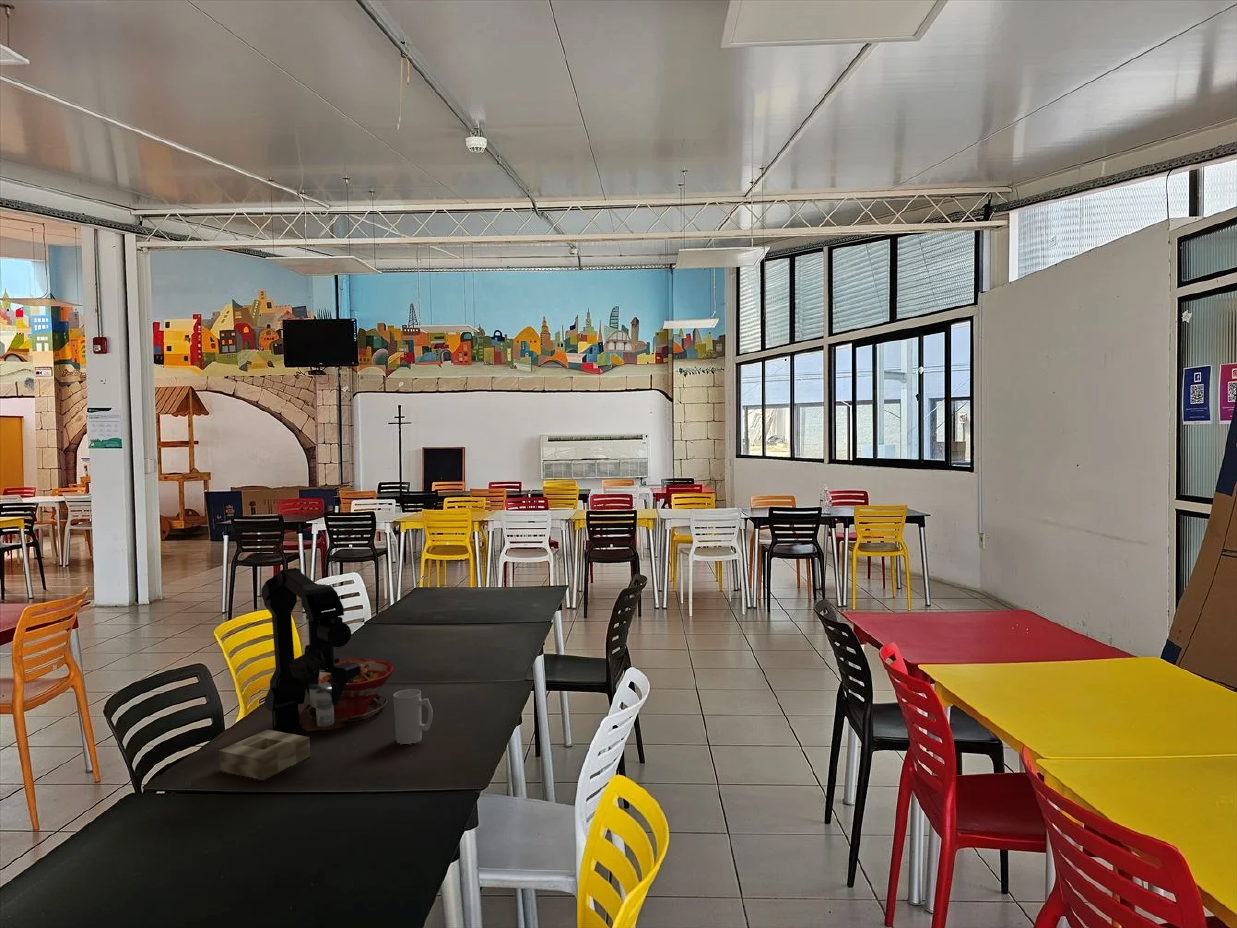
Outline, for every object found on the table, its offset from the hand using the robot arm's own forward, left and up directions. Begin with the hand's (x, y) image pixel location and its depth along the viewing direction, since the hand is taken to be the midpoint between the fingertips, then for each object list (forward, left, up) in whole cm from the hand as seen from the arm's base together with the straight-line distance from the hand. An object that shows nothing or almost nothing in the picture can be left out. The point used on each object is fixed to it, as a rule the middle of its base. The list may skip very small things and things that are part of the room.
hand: (324, 702), depth 199 cm
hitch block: (-10, -10, -13) cm, 19 cm away
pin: (0, 0, -5) cm, 5 cm away
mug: (+14, +15, -13) cm, 25 cm away
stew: (-16, +24, -13) cm, 31 cm away
